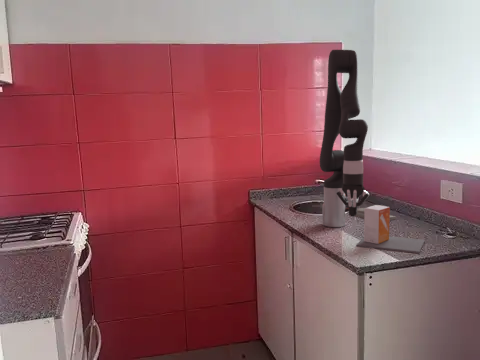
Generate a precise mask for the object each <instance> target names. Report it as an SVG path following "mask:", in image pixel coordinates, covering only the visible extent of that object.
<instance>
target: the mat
mask: <svg viewBox="0 0 480 360" xmlns="http://www.w3.org/2000/svg"><path fill="white" fill-rule="evenodd" d="M425 242H426V239H422V238H419V239H418V238H412V237H411V238H410V237H403V236H402V237H400V236H392V235H391V236H390V235H389V240H387V241H384V242H382V243H379V244H376V243H371V242H366V241H364V236H363V237H362V238H361V239H360V240H359V241H358V243H356V247H359V248H370V249H377V250H378V249H379V250H385V251H386V250H388V251H396V252H405V253H412V254H414V253H415V254H420V252H421V250H422V249H423V246H424V244H425Z"/></svg>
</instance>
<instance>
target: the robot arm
mask: <svg viewBox="0 0 480 360" xmlns="http://www.w3.org/2000/svg"><path fill="white" fill-rule="evenodd" d="M358 59H359V58H358V54H357V51H356V50H353V49H332V50H330V53H329V54H328V59H327V60H328V61H327V92H326V101H325V111H324V123H323V125H324V126H323V136H322V142H321V149H320V153H319V167H320V170H321V171H322V172H324V173H332V172H333V173H332V175H331V176H330V177H328V178H326V179H325V180H324V181H323V203H322V207H321V208H322V209H321V211H322V212H321V213H322V215H321V217H322V218H321V220H322V221H321V222H322V226H325V227H329V228H341V227H344V226H346V210H345V205H347V206H349V209H348V214H349V216H350V217H354V218H355V217H356V216H355V215H357V210H358V207H361V205H362V206H363V204H364V202H365V201H366V200H367V199H368V198H369V196H370V195H371V193H369V192H368V191H366V190H365V187H364V160H363V159H364V158H363V157H364V155H363V153H364V152H363V149H364V146H365V140H366V137H367V134H368V128H369V125H368V123H367V121H366V120H365V119H361V118H359V119H358V118H357V119H355V118H356V117H358V116H359V115H360V112H361V107H360V99H359V92H358V83H359V82H358V80H359V77H358V76H359V74H358V73H359V72H358V71H359V69H358V68H359V63H358V61H359V60H358ZM338 74H348V76H349V77H348V80H347V82H346V83H345V85H344V87H343V89H342V90H341V88H340V86H339V82H338ZM338 136H340V137H341V138H342V139H356V141H355V142H353V143H350V144H347V145H345V146H344V147H343V150H342V149H337V150H334V145H335V142H336V139H337V137H338ZM345 195H346V196H347V197H348V200H347V199H346V198H345ZM361 195H362V198H361V199H360V200H359V198H360V197H361Z"/></svg>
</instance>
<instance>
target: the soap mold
mask: <svg viewBox="0 0 480 360" xmlns="http://www.w3.org/2000/svg"><path fill="white" fill-rule="evenodd" d="M364 208H365V207H360V208H357V215H355V216H354V217H357V218H361V219H364ZM394 220H397V216H395V215H391V214H390V221H394Z"/></svg>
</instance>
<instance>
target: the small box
mask: <svg viewBox="0 0 480 360" xmlns="http://www.w3.org/2000/svg"><path fill="white" fill-rule="evenodd" d="M363 208H364V218H363V220H364V221H363V224H364V225H363V226H364V227H363V230H364V231H363V237H364V241H366V242H371V243H376V244H379V243H382V242H384V241H387V240H389V236H390V221H391V220H390V215H391V210H390V209H391V208H390V206H386V205H379V204H375V205H370V206H368V207H363Z"/></svg>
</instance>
